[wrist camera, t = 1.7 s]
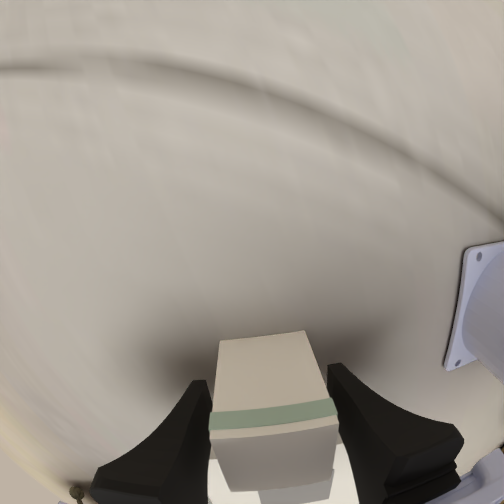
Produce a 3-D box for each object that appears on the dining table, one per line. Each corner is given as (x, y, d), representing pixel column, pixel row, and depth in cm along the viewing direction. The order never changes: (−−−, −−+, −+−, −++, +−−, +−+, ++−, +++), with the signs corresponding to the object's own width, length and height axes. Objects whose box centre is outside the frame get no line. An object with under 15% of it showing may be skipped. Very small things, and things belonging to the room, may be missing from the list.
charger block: (305, 329, 13) (341, 421, 8) (307, 391, 14) (331, 480, 9) (218, 339, 13) (207, 438, 8) (231, 400, 14) (229, 492, 9)
